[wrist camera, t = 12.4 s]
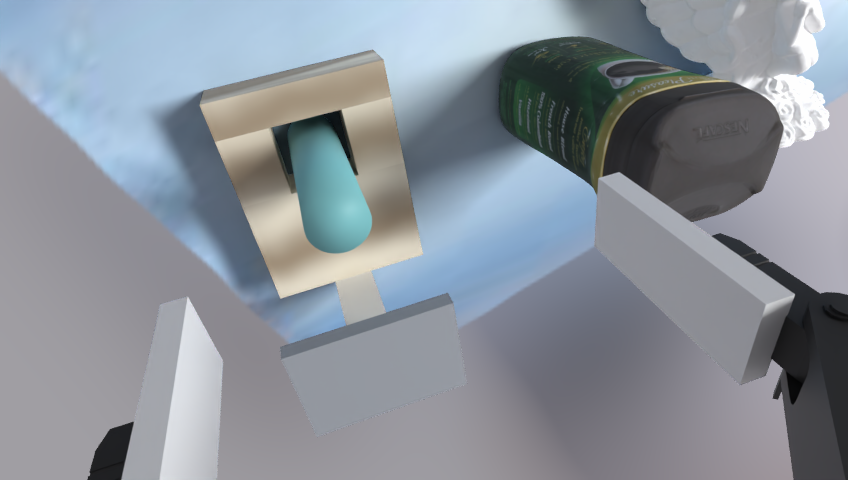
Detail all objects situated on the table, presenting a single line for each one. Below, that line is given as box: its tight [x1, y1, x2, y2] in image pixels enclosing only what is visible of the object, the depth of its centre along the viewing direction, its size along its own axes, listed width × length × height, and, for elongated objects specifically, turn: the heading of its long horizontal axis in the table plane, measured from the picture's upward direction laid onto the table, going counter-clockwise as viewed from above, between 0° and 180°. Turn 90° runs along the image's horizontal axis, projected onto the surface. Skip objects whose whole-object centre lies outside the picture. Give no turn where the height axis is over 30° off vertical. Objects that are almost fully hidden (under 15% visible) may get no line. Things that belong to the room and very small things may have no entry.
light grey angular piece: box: [280, 271, 467, 437], centre depth 37 cm, size 7×10×16 cm
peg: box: [287, 115, 372, 254], centre depth 33 cm, size 4×4×14 cm
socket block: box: [200, 50, 423, 298], centre depth 39 cm, size 16×12×4 cm
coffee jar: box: [499, 37, 784, 222], centre depth 34 cm, size 10×8×19 cm
